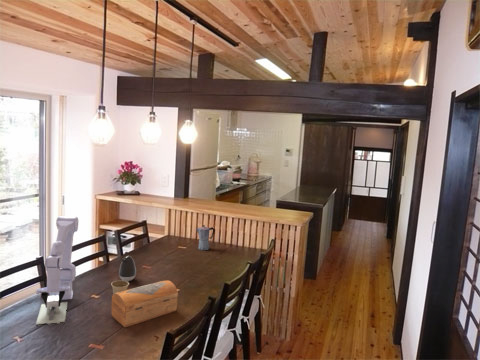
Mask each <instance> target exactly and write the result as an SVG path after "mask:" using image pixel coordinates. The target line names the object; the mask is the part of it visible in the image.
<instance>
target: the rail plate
mask: <svg viewBox="0 0 480 360" xmlns="http://www.w3.org/2000/svg"><path fill="white" fill-rule="evenodd" d="M66 310H68V301H64V302H62V301H61V303H60V307H59V310H58V312H55V307H51V308H50V313H47V308H46V306H45V303H41V305H40V308H39V311H38V312H39V313H38V316H37V319H36V321H35V322H36V323H35V325H36V324H44V323H57V324H61V323H60V322H65V323H66V317H67V311H66Z"/></svg>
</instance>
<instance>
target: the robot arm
mask: <svg viewBox="0 0 480 360" xmlns="http://www.w3.org/2000/svg"><path fill="white" fill-rule="evenodd" d="M55 225H56V227H57V236H56V240H55V242H54V243H52V247H51V249H50V252H49V255H48V256H47V257H46V258H45V262H44V263H45V264H44V267H45V271H46V287H41V288H40V287H39V288H36V291H35V294H36V295H39V294H40V295H41V298H42V300H43V302H44V304H45V306H46V308H47V299H48V296H49V294H54V293H56V295H59V307H60V303H62V301H63V300H65V301H66V300H72V299H73V296H74V295H73V294H74V291H73V282H74V281H75V279H76V275H77V272H76V271H77V268H76V267H77V266H76V265H75V264H73V263H72V254H73V253H72V252H73V243H74V234H75V233H77V232H78V230H79V229H78V228H79V218H78V216H64V215H63V216H61V215H58V217H56V223H55Z"/></svg>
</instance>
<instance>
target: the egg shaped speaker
mask: <svg viewBox="0 0 480 360" xmlns="http://www.w3.org/2000/svg"><path fill="white" fill-rule="evenodd" d="M118 270H119V271H118V277H119V278H120V279H121V280H122V281H127V282H130V281H133V280H134V279H135V277H136V275H137V268H136V263H135V261H134V259H133V257H132V256H131V255H126V256H125V257H123V258H122V259H121V263H120V266H119V269H118ZM121 280H120V281H121Z"/></svg>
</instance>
